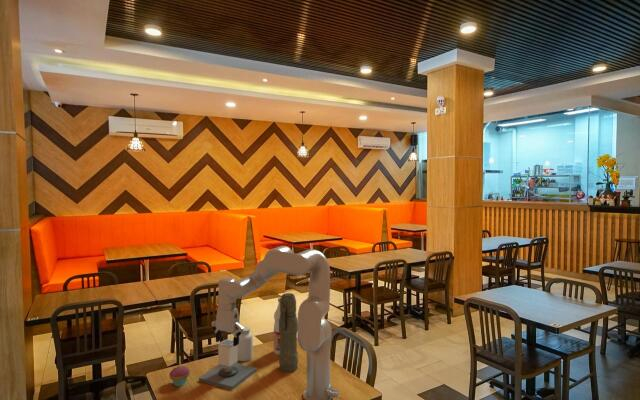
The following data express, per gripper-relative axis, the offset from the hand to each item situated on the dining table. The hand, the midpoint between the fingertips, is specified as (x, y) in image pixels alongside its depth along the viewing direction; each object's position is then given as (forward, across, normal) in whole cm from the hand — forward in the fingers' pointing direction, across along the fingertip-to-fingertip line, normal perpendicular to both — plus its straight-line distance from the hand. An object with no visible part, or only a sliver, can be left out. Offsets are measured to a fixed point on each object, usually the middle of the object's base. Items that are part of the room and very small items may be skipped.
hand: (227, 343), depth 176 cm
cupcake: (+16, +14, +14) cm, 25 cm away
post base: (+15, -1, 0) cm, 15 cm away
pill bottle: (+15, +3, -18) cm, 24 cm away
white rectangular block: (+10, 0, 0) cm, 10 cm away
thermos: (+15, -22, -18) cm, 32 cm away
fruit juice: (+15, -11, -32) cm, 37 cm away
